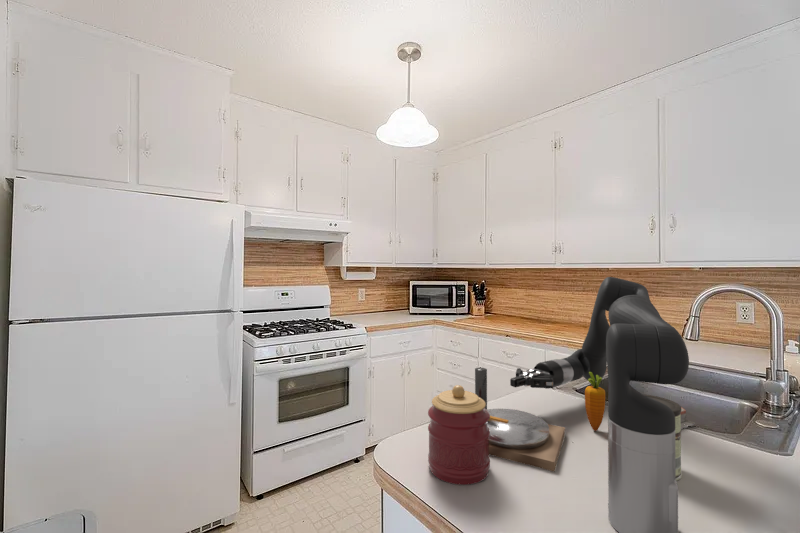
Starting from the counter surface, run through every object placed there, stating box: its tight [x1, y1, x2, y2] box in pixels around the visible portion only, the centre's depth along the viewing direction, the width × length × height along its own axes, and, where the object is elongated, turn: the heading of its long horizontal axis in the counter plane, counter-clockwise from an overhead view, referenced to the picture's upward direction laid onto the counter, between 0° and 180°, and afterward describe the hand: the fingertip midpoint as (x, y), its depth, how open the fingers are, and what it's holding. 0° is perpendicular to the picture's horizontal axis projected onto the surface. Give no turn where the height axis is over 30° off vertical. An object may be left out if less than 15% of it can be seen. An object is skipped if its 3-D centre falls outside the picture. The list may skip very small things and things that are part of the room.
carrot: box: [584, 372, 606, 432], centre depth 95 cm, size 5×5×15 cm
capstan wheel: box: [474, 367, 549, 449], centre depth 90 cm, size 18×18×14 cm
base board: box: [489, 423, 566, 472], centre depth 90 cm, size 23×19×2 cm
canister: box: [427, 384, 491, 486], centre depth 78 cm, size 13×13×18 cm
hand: (512, 383), depth 101 cm, fingers closed
